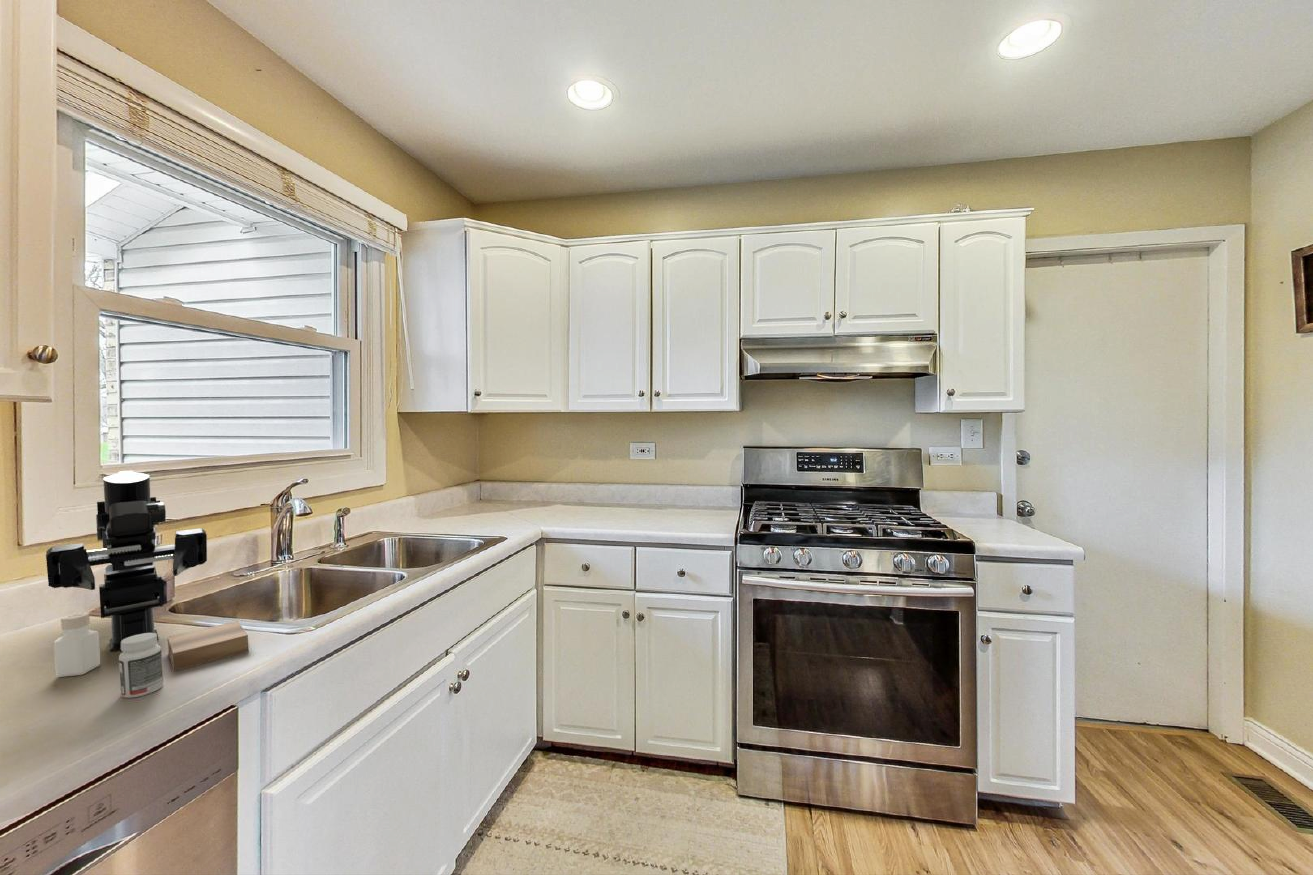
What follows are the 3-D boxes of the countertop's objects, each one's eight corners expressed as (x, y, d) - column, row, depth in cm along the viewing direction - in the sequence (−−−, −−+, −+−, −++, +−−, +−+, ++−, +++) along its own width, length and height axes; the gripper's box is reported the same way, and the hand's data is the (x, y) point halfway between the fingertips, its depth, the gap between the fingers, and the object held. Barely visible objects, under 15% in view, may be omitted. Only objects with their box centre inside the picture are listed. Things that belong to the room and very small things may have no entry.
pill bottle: (171, 682, 85) (168, 630, 85) (144, 698, 81) (141, 643, 80) (140, 683, 85) (138, 631, 85) (111, 699, 81) (108, 644, 80)
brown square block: (168, 653, 96) (167, 636, 96) (238, 636, 103) (237, 620, 103) (174, 671, 89) (173, 653, 89) (248, 651, 96) (247, 634, 96)
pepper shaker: (102, 664, 92) (99, 610, 92) (83, 675, 88) (79, 618, 88) (74, 667, 91) (71, 612, 91) (53, 678, 87) (49, 621, 87)
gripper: (45, 501, 85) (40, 543, 75) (199, 488, 98) (213, 522, 88) (51, 564, 87) (46, 613, 77) (200, 543, 101) (213, 583, 91)
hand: (135, 579), depth 83 cm, fingers open, 9 cm apart
